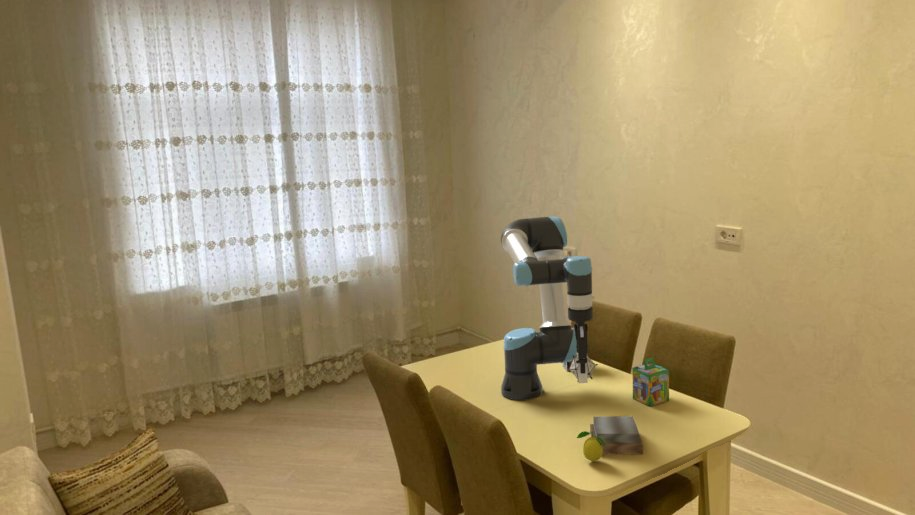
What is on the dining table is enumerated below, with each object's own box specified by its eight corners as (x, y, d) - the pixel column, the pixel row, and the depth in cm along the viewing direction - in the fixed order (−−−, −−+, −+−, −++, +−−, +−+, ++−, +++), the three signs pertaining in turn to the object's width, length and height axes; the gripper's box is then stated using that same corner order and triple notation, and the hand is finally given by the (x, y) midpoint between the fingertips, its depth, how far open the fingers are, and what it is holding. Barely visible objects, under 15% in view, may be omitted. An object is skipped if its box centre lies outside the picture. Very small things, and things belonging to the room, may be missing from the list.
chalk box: (650, 407, 227) (650, 365, 224) (631, 398, 235) (631, 358, 232) (670, 401, 231) (670, 360, 228) (651, 392, 239) (651, 353, 237)
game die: (588, 391, 208) (598, 374, 201) (562, 382, 209) (571, 364, 202) (592, 369, 214) (602, 351, 207) (567, 360, 215) (576, 342, 208)
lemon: (577, 459, 194) (576, 427, 192) (593, 454, 196) (593, 423, 195) (591, 469, 188) (590, 436, 186) (607, 464, 190) (607, 431, 189)
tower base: (594, 454, 197) (594, 435, 196) (590, 433, 210) (589, 415, 209) (643, 454, 195) (642, 434, 194) (635, 432, 209) (635, 414, 208)
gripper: (595, 315, 194) (596, 389, 198) (590, 298, 215) (592, 366, 218) (568, 315, 195) (571, 389, 199) (566, 299, 216) (569, 367, 219)
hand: (582, 377), depth 209 cm, fingers closed on game die, 8 cm apart
